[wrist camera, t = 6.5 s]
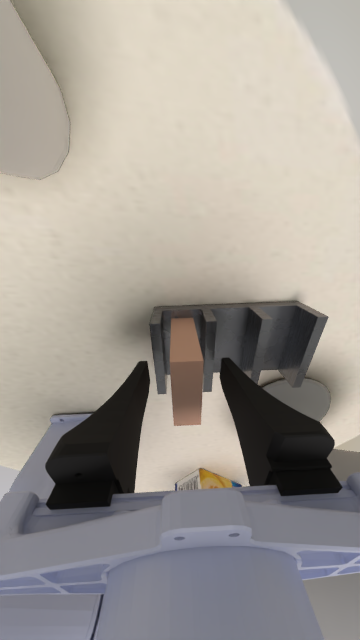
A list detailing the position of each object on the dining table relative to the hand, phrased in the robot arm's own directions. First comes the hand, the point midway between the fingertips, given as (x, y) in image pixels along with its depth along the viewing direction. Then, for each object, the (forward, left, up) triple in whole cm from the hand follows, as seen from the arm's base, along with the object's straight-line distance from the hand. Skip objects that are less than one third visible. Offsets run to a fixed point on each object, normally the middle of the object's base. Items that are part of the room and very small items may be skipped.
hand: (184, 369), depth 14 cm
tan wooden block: (0, 0, -3) cm, 3 cm away
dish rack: (+4, 0, -4) cm, 6 cm away
